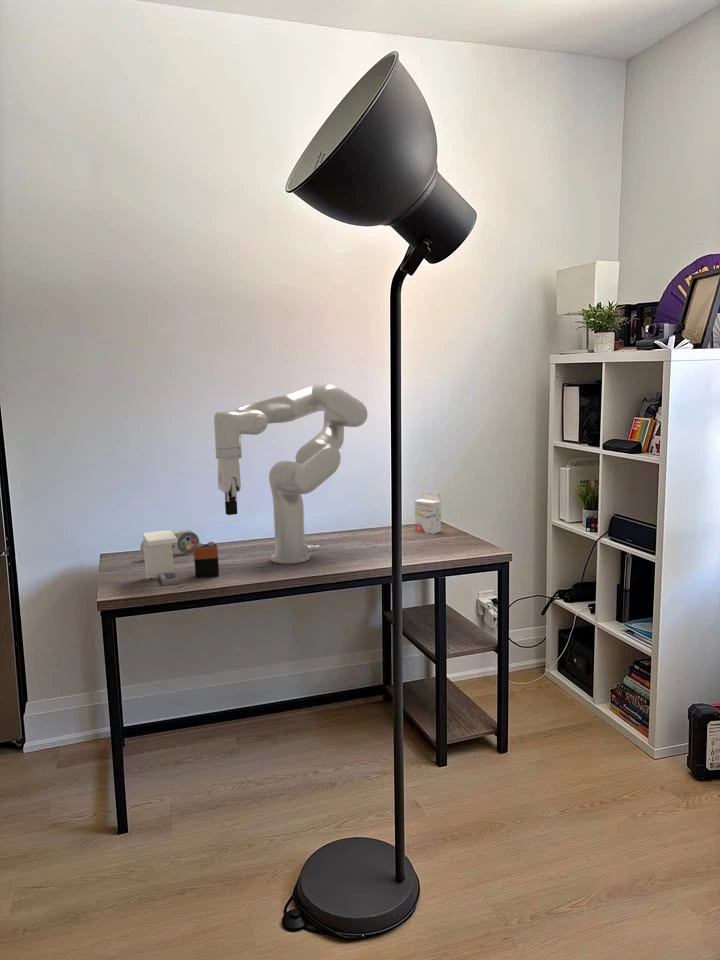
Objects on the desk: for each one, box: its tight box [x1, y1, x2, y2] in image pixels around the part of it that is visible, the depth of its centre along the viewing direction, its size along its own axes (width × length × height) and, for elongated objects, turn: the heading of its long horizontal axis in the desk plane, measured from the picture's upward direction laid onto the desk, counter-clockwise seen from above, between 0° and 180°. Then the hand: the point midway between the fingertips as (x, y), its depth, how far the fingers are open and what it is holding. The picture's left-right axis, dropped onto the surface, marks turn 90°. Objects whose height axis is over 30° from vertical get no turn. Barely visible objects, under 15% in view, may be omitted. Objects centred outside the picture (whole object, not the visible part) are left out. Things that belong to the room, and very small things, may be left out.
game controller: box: [140, 529, 201, 558], centre depth 243 cm, size 20×2×8 cm, turn 123°
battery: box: [193, 541, 220, 579], centre depth 219 cm, size 4×7×10 cm, turn 100°
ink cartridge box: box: [414, 490, 442, 535], centre depth 268 cm, size 9×5×15 cm, turn 52°
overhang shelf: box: [142, 529, 180, 586], centre depth 213 cm, size 8×12×14 cm, turn 23°
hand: (231, 514), depth 220 cm, fingers closed
